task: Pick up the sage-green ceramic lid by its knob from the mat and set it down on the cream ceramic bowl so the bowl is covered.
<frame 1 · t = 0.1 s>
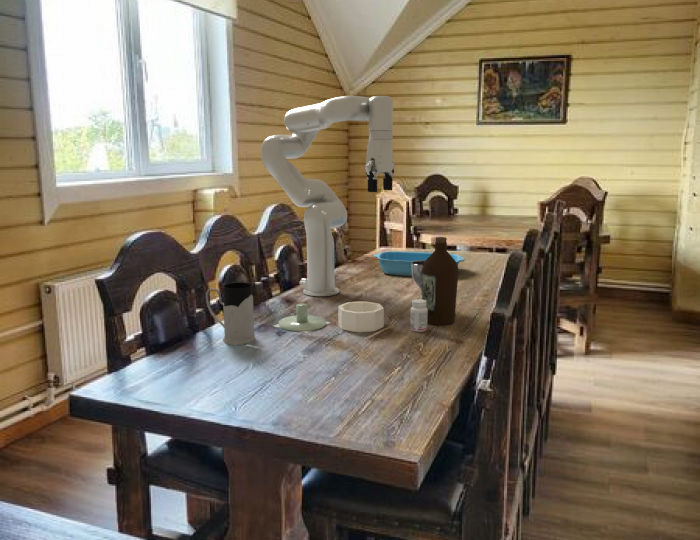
hand: (380, 191, 198), 37 cm above the table, tool pointing down, fingers open, 9 cm apart
pill bottle: (418, 330, 175), on the table
casserole dish: (418, 273, 253), on the table
olive oil: (438, 321, 183), on the table
lid: (302, 324, 178), resting on mat
wine glass: (423, 309, 197), on the table
bowl: (360, 327, 177), on the table
mat: (302, 325, 178), on the table
glass holder: (230, 339, 167), on the table
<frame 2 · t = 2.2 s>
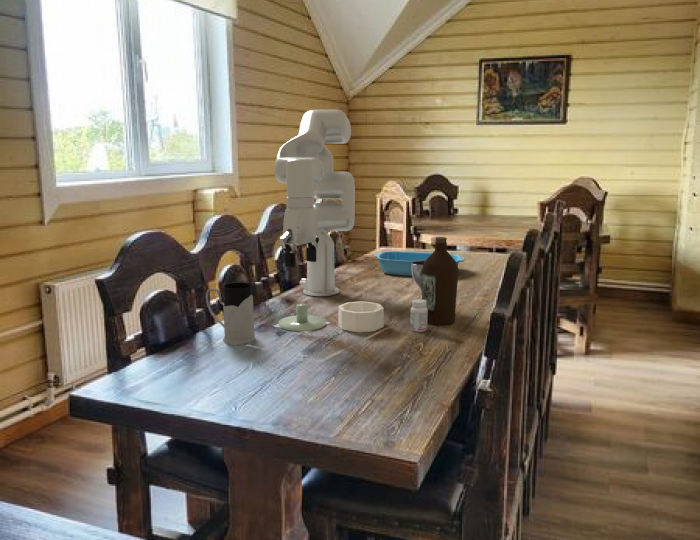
hand: (301, 264, 174), 18 cm above the table, tool pointing down, fingers open, 9 cm apart
nothing on the table moved.
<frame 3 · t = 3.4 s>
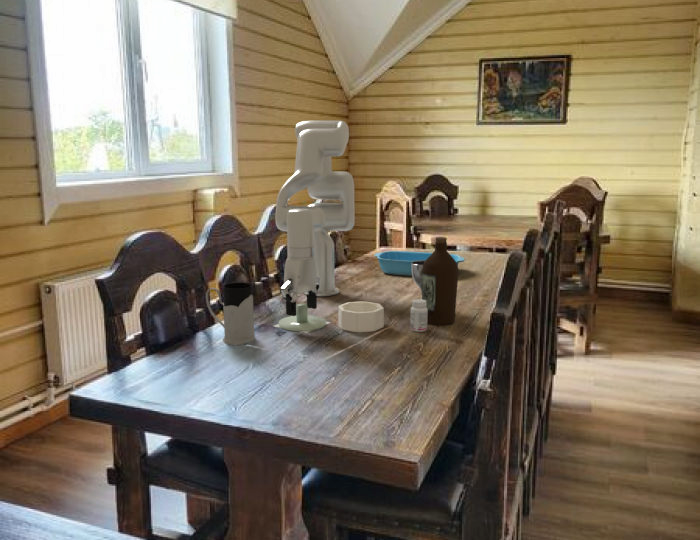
hand: (301, 311, 177), 4 cm above the table, tool pointing down, fingers open, 9 cm apart
nothing on the table moved.
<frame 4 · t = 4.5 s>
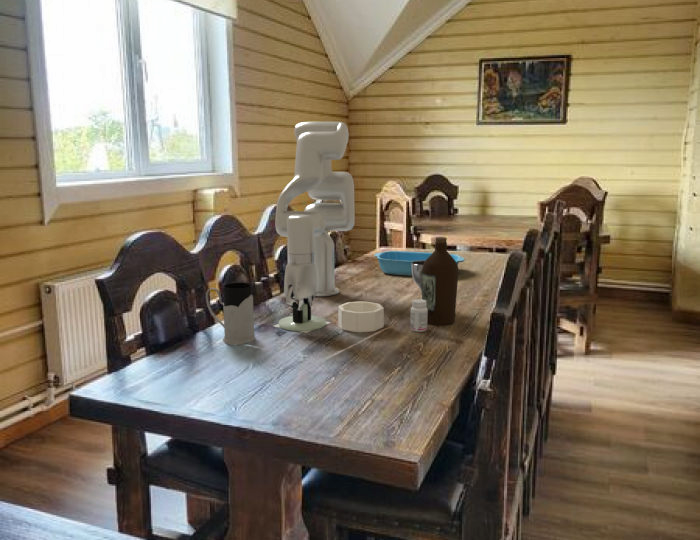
hand: (302, 320, 178), 2 cm above the table, tool pointing down, fingers closed on lid, 3 cm apart
lid: (302, 324, 178), point 1 cm above the table, touching gripper, mat
everything else where it was.
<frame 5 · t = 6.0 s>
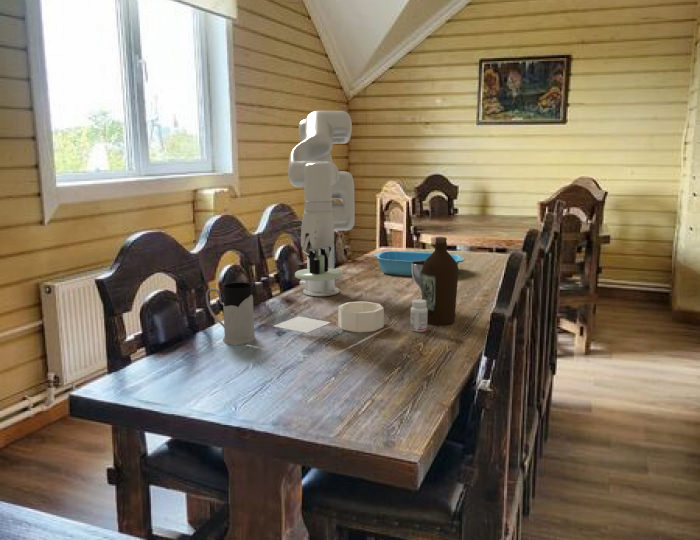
hand: (319, 271, 175), 16 cm above the table, tool pointing down, fingers closed on lid, 3 cm apart
lid: (319, 275, 175), point 15 cm above the table, touching gripper
everything else where it was.
when the fingers open (8 cm above the table, at t = 7.8 s): lid stays where it is, resting on bowl.
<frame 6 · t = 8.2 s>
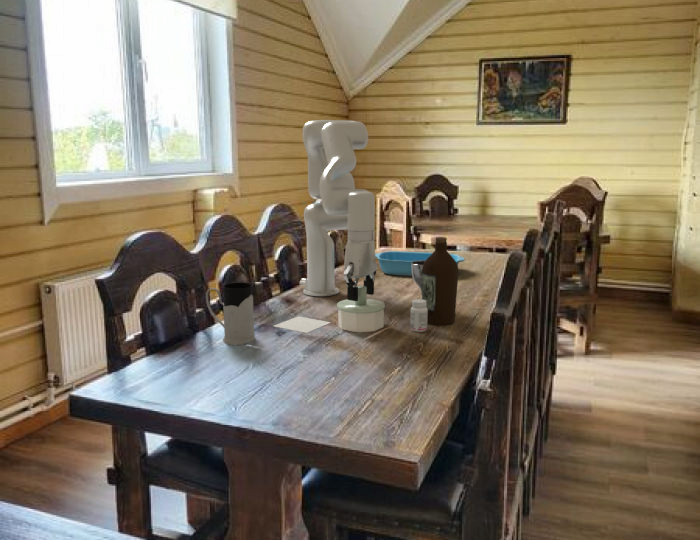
hand: (360, 296, 175), 9 cm above the table, tool pointing down, fingers open, 8 cm apart
lid: (360, 306, 176), point 6 cm above the table, touching bowl
everything else where it was.
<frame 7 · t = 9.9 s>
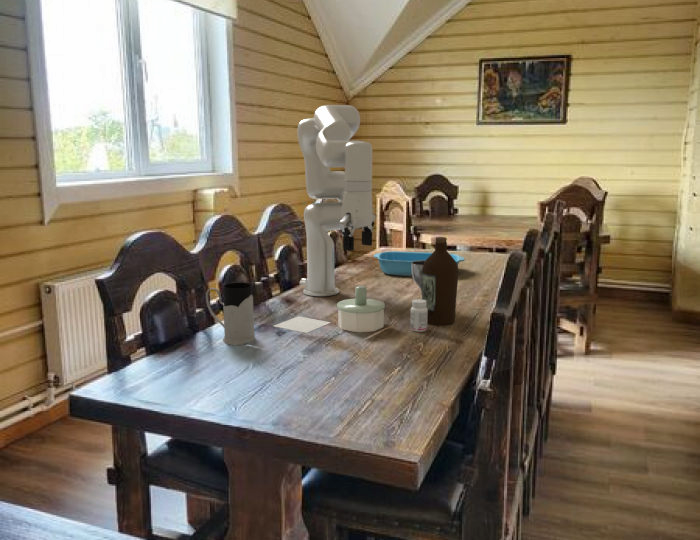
hand: (357, 247, 175), 23 cm above the table, tool pointing down, fingers open, 9 cm apart
nothing on the table moved.
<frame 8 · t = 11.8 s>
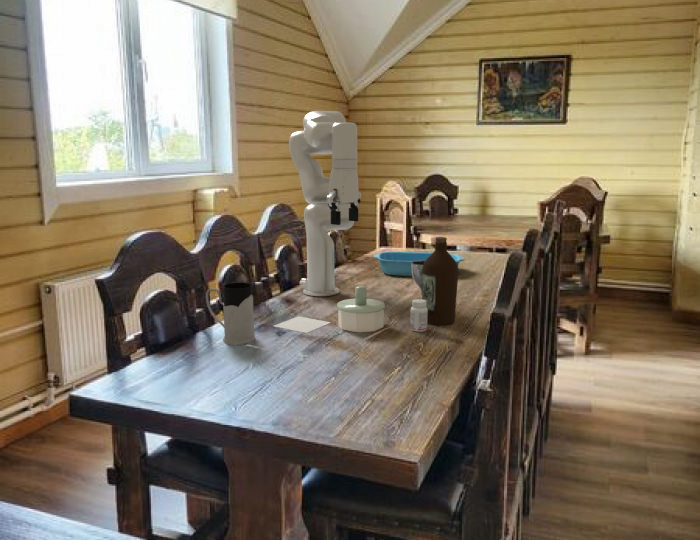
hand: (344, 222, 186), 28 cm above the table, tool pointing down, fingers open, 9 cm apart
nothing on the table moved.
at the end: lid 0.1 cm off-centre on the bowl, point 6.0 cm above the bowl's base; lid tilted 0°; the gripper is holding nothing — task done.
